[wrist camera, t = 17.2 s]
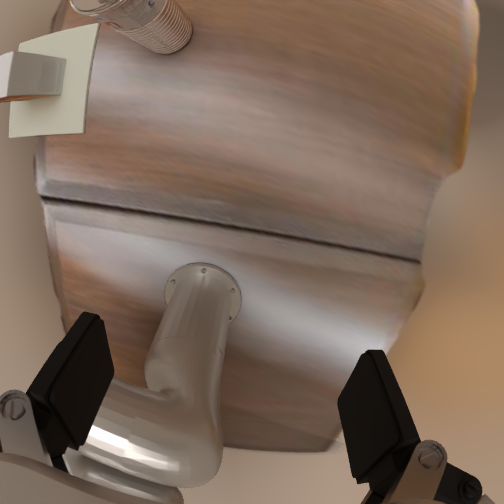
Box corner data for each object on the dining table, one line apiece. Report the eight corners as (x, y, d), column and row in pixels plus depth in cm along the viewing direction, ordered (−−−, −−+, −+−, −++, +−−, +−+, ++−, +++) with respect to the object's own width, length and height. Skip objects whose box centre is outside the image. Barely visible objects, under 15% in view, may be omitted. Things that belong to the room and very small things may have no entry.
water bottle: (199, 45, 32) (126, -37, 9) (152, 62, 33) (38, 16, 10) (187, 7, 29) (116, -88, 6) (142, 25, 30) (37, -40, 7)
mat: (84, 132, 37) (82, 133, 36) (10, 137, 36) (8, 138, 35) (100, 23, 29) (98, 22, 29) (21, 44, 28) (19, 43, 28)
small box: (28, 101, 33) (-26, 106, 21) (32, 66, 30) (-21, 63, 18) (62, 95, 33) (6, 97, 22) (67, 58, 31) (13, 49, 19)
